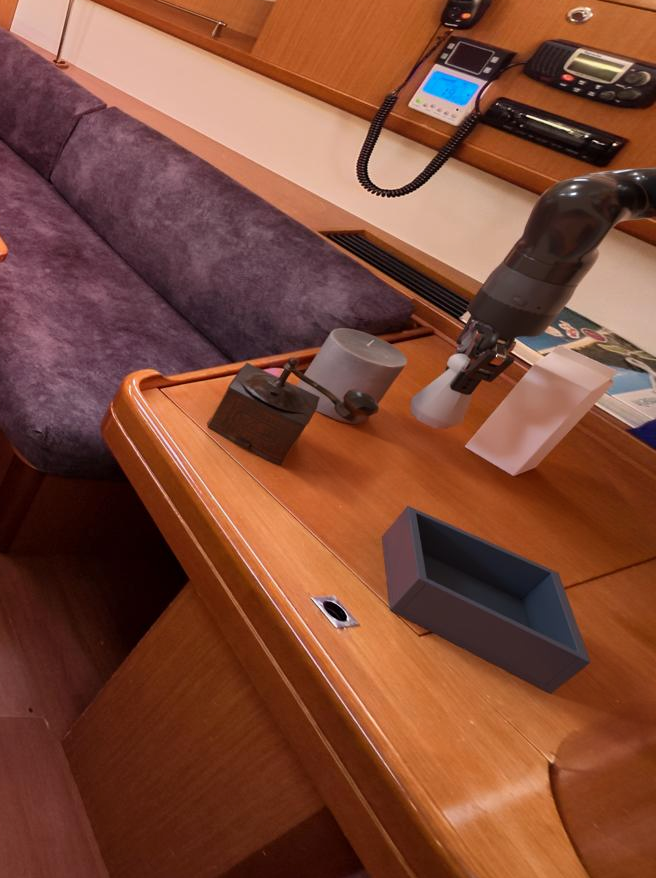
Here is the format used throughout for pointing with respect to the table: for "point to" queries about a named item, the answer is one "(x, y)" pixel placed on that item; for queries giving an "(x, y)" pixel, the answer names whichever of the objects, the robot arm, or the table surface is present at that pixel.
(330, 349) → the pillar candle
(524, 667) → the bin
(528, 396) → the milk
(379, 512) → the table surface
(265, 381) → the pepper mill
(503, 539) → the table surface
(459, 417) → the salt shaker
